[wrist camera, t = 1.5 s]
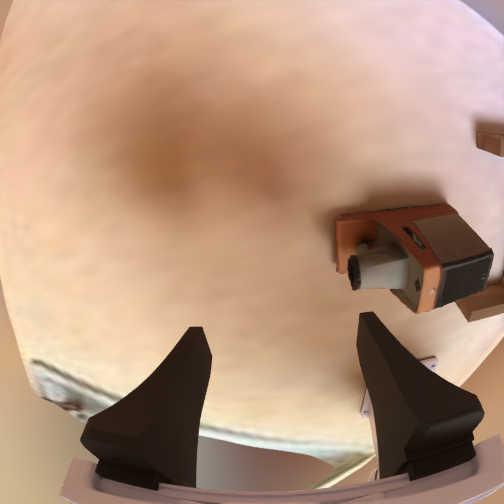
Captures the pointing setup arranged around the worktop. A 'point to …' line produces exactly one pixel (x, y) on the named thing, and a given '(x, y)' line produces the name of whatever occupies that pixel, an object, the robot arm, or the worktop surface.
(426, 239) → the electronic device
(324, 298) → the worktop surface
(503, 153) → the cradle
